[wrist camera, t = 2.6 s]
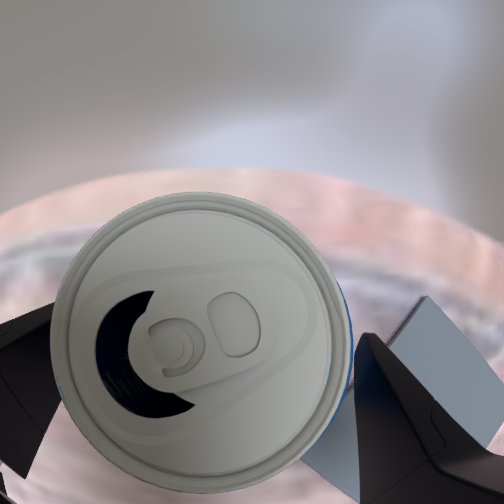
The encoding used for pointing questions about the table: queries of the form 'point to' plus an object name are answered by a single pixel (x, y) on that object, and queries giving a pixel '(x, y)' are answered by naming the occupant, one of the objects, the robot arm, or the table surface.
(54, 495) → the table surface
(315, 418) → the beverage can
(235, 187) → the table surface
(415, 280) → the table surface
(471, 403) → the mat
